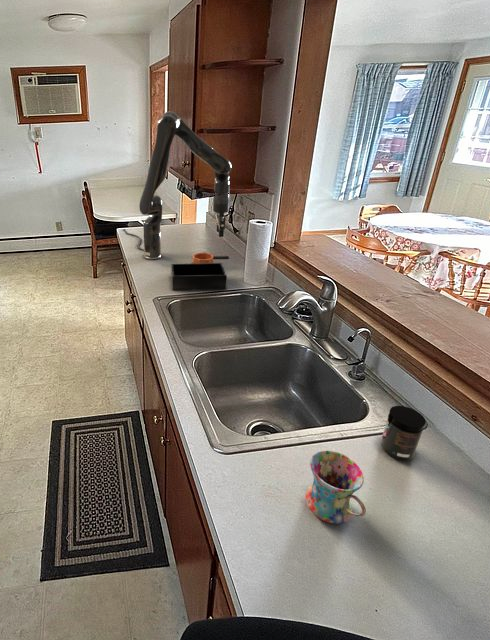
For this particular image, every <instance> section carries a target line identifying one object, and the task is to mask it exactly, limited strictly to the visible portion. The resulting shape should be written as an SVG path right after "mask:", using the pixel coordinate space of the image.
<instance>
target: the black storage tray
mask: <svg viewBox="0 0 490 640" xmlns="http://www.w3.org/2000/svg"><path fill="white" fill-rule="evenodd" d="M170 265H171V266H170V278H171V288H172V291H200V290H202V291H207V290H208V291H210V290H211V291H212V290H218V291H219V290H227V273H226V271H225V268H224V265H223V263H222V262H213V263H200V264H193V263H171V264H170Z"/></svg>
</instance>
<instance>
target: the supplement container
mask: <svg viewBox="0 0 490 640" xmlns="http://www.w3.org/2000/svg"><path fill="white" fill-rule="evenodd" d="M426 423H427V421H426V418H425V417H424V416H423V414H421V413H420V412H419V411H417V410H415V409H414V408H411V407H408V406H405V405H395V406H392V407H390V408H389V412H388V415H387V419H386V423H385V425H384V429H383V433H382V436H381V439H380V447H381V449H382V450H383V451H384V452H385V453H386V454H387V455H388V456H389V457H391V458H393V459H395V460H399V461H409V460H412V459H413V458H414V457H415V453H416V452H417V448H418V446H419V442H420V439H421V437H422V434H423V432H424V430H425V426H426Z"/></svg>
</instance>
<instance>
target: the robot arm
mask: <svg viewBox="0 0 490 640" xmlns="http://www.w3.org/2000/svg"><path fill="white" fill-rule="evenodd" d="M155 135H156V136H155V143H154V147H153V150H152V153H151V157H150V161H149V166H148V169H147V175H146V180H145V184H144V187H143V190H142V194H141V197H140V200H139V205H138V207H139V212H140V214H141V215H143V216H148V217H147V218H145V220H143V221H142V227H143V228H142V229H143V230H142V231H143V248H141V247H140V245H141V242H142V239H141V237H140V236H138V235H137V234H135V233H129V232H127V231H126V229H125V228H123V229H122V231H123V232H124V233H125V234H126V235H129V236H133V237H136V238H138V239H139V241H138V244H137V245H136V247H137V249H138V250H140V251H143V258H145V260H158V259H160V258H161V257H162V235H161V234H162V229H161V225H162V220H163V200H162V199H161V197H160V196H159V195H157V194H156V192H157V190H158V189H159V187H160V186H161V185H162V184H163V182H164V181H165V180H166V177H167V175H168V171H169V167H170V160H171V159H170V158H171V148H172V144H173V141H174V139H175V136H177V138H179V139H180V140H181V141H182V142H183V143H184V144H185V145H186V146H187V147H188V149H189V150H190V151H191V152H192V154H194V155H195V156H196V157H197V158H199V160H201V161H202V162H204V163H205V164H207V165H208V166H209V167H210V168H211V169H213V170H214V186H213V189H214V191H215V194H221V195H215V196H214V195H213V199H212V200H213V202H212V203H213V204H212V211H213V213H216V214H215V224H216V233H218V237H219V238H224V236H225V229H226V218H227V217H226V215H225V214H226V213H229V211H230V199H231V196H230V190H231V189H230V187H231V186H230V185H231V183H230V173H231V171H232V163H231V162H230V160H229V159H227V158H226V157H224V156H223V155H222V154H220V153H219V152H217V151H216V149H215V148H214V147H212V146H211V145H210V144H208V142H206V141H205V140H203V139H202V138H201V137H200V136H199V135H197V134H196V133H195V132H194V130H192V129H191V128H190V126H189V125H188V124H186V123H185V121H184V120H183V119H182V118H181V117H180V116H179V115H178V113H176V112H175V111H170V110H169V111H165V112H164V113H163V114H162V115H161V117H160V118H159V119H158V121H157V125H156V134H155ZM214 191H213V192H214ZM228 193H229V194H228ZM155 194H156V195H155ZM222 194H223V195H222Z"/></svg>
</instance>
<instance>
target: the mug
mask: <svg viewBox="0 0 490 640" xmlns="http://www.w3.org/2000/svg"><path fill="white" fill-rule="evenodd" d="M309 466H310V471H311V472H312V476H313V482H312V484H311V485H310V486H309V487H308V488H307V489H306V491H305V497H304V498H305V501H306V504H307V507H308V508H309V510H310V511H311V513H313V514H314V515H315V516H316V517H318V518H319V519H321V520H322V521H324V522H327V523H330V524H336V525H337V524H338V525H339V524H344V523H346V522H347V521H349V519H351V517H355V518H361V517H364V516H365V515H366V513H367V508H366V506H365V503H364V502H363V501H362V499H360V498H359V497H358V496H357V495H355V494H354V493H356V492H357V491H359V490H360V489H361V488H362V487H363V485H364V482H365V478H364V473H363V471H362V469H361V468H360V466H359V465H358V464H357V463H356V462H355V461H354V460H353V459H351V458H350V457H348V456H347V455H344V454H343V453H340V452H338V451H334V450H319V451H317V452H315V453H314V454H313V455H312V456H311V458H310V460H309ZM351 499H353V500H355V501H356V502H357V503H358V505H359V506H360V508H361V513H355V512H353V510H352V509H353V508H352V505H351V502H350V501H351Z"/></svg>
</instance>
